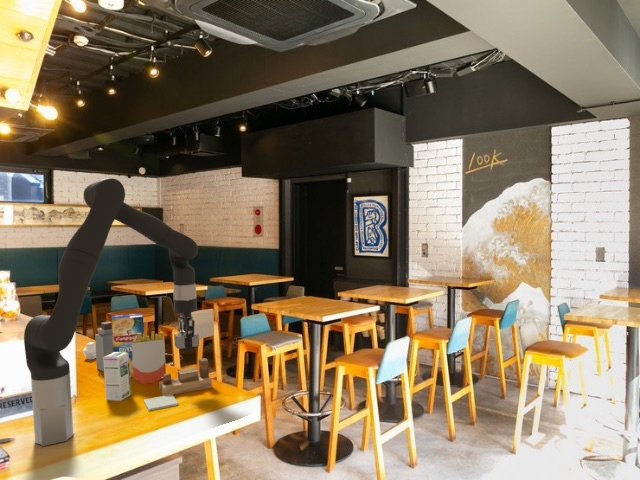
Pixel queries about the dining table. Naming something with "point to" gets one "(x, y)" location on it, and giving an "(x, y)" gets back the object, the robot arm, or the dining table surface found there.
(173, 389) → the body
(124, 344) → the cereal box
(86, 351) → the white lumpy round piece
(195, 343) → the lever cap
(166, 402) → the mat
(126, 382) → the syrup box
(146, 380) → the french fries container
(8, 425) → the dining table surface
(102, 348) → the perfume bottle
